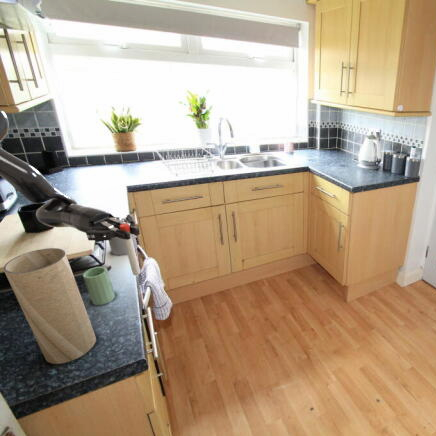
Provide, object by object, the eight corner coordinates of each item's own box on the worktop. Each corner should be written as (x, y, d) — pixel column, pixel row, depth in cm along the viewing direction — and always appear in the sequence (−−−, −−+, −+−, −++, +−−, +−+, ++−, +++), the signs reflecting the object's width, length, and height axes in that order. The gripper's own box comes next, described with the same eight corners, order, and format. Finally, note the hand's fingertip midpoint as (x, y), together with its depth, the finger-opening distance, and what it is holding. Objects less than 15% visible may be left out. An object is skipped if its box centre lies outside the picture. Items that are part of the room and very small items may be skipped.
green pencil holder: (97, 307, 90) (88, 280, 86) (88, 300, 93) (79, 273, 89) (118, 297, 95) (110, 270, 91) (109, 290, 98) (101, 264, 94)
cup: (138, 251, 118) (132, 227, 114) (112, 257, 114) (105, 232, 110) (136, 241, 125) (131, 218, 121) (112, 246, 121) (105, 223, 117)
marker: (135, 276, 93) (121, 227, 86) (131, 273, 94) (117, 225, 87) (142, 272, 95) (130, 224, 88) (138, 270, 96) (126, 222, 89)
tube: (72, 329, 83) (38, 245, 72) (105, 335, 81) (77, 251, 71) (33, 359, 74) (-11, 270, 63) (70, 367, 73) (31, 276, 62)
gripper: (62, 218, 86) (105, 232, 80) (111, 201, 98) (152, 212, 92) (70, 242, 89) (112, 257, 83) (117, 223, 101) (157, 235, 95)
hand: (133, 233), depth 87 cm, fingers closed on marker, 2 cm apart
